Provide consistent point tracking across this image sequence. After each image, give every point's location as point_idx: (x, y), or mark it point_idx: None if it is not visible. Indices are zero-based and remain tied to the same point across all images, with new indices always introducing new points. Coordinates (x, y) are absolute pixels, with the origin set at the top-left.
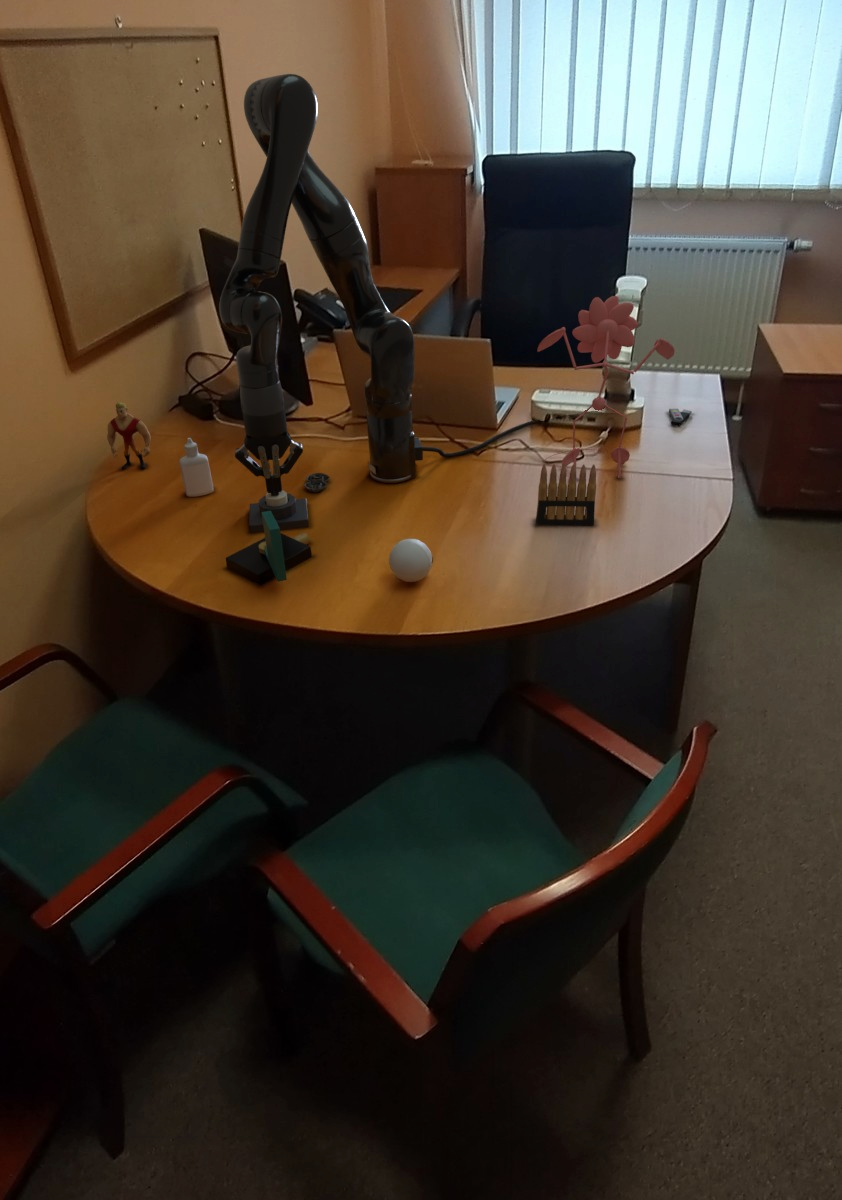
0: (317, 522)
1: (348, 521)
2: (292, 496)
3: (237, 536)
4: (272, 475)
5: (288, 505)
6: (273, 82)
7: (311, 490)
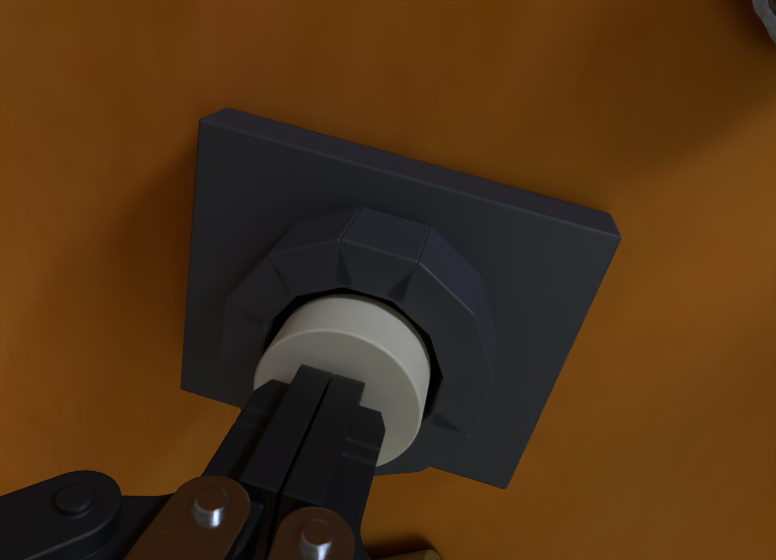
0: (572, 430)
1: (738, 502)
2: (478, 370)
3: (138, 353)
4: (270, 528)
5: (408, 464)
6: None
7: (771, 11)
